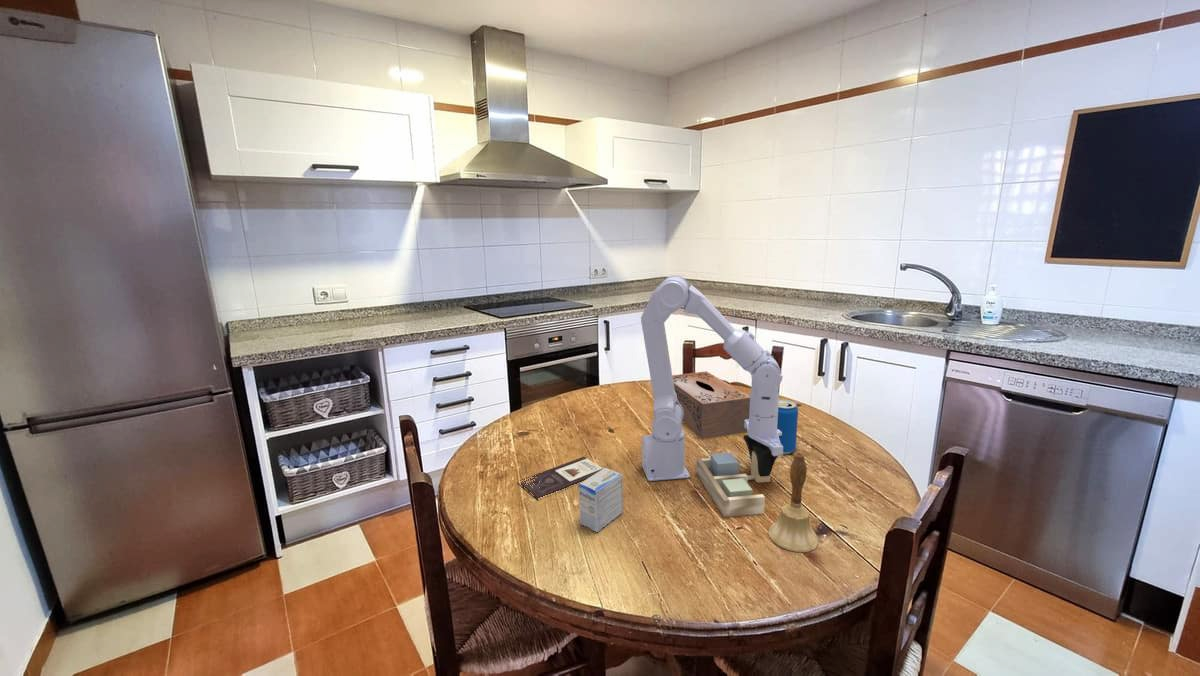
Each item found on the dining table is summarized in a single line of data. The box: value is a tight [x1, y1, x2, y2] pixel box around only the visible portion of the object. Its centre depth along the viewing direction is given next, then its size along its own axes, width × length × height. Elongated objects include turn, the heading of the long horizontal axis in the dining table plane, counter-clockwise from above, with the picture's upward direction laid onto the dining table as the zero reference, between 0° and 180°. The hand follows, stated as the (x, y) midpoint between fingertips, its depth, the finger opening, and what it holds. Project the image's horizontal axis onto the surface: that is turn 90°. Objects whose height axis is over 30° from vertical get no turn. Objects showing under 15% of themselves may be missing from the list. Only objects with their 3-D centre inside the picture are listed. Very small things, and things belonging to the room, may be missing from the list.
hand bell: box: [767, 453, 820, 553], centre depth 81 cm, size 8×8×16 cm
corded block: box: [710, 451, 771, 484], centre depth 102 cm, size 12×4×6 cm, turn 96°
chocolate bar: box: [519, 456, 604, 500], centre depth 106 cm, size 9×1×18 cm
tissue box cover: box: [672, 371, 750, 440], centre depth 136 cm, size 26×14×10 cm, turn 15°
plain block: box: [722, 478, 753, 497], centre depth 94 cm, size 4×4×4 cm
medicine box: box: [578, 467, 624, 533], centre depth 89 cm, size 8×4×9 cm, turn 141°
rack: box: [696, 457, 766, 518], centre depth 98 cm, size 8×17×4 cm, turn 6°
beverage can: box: [777, 399, 799, 455], centre depth 115 cm, size 6×6×12 cm
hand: (760, 471), depth 103 cm, fingers closed on corded block, 3 cm apart
